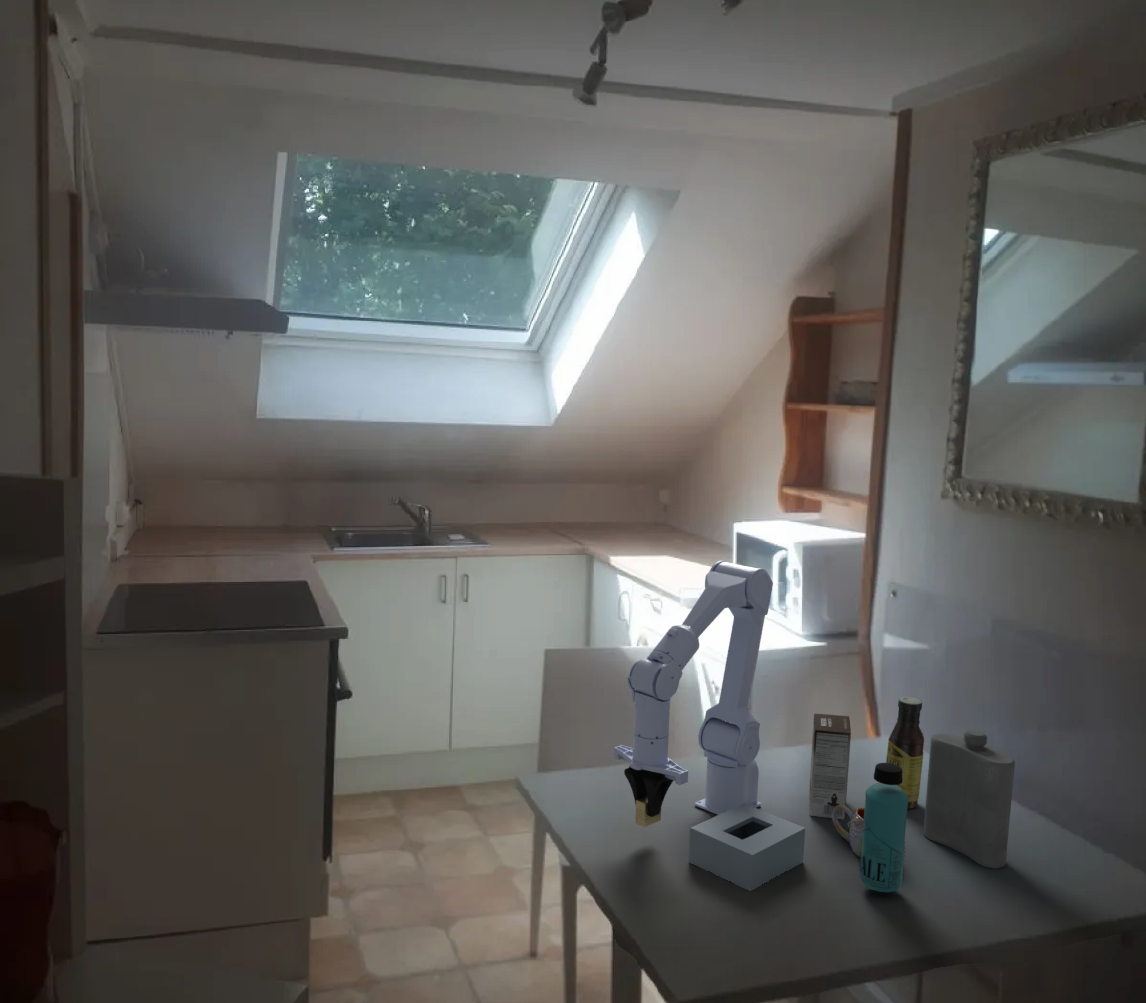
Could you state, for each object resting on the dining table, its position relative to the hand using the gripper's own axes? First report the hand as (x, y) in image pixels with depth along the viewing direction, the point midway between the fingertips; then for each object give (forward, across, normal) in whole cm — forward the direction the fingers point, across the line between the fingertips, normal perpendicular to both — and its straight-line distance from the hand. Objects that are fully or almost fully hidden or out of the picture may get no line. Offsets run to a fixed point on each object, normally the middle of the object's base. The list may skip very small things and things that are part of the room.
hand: (648, 812), depth 171 cm
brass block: (+2, 0, 0) cm, 2 cm away
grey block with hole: (+5, +15, +7) cm, 17 cm away
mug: (+6, +24, +26) cm, 36 cm away
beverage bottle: (+6, +34, +15) cm, 38 cm away
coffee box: (+6, +12, +35) cm, 37 cm away
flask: (+6, +36, +39) cm, 53 cm away
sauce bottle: (+6, +20, +47) cm, 51 cm away
